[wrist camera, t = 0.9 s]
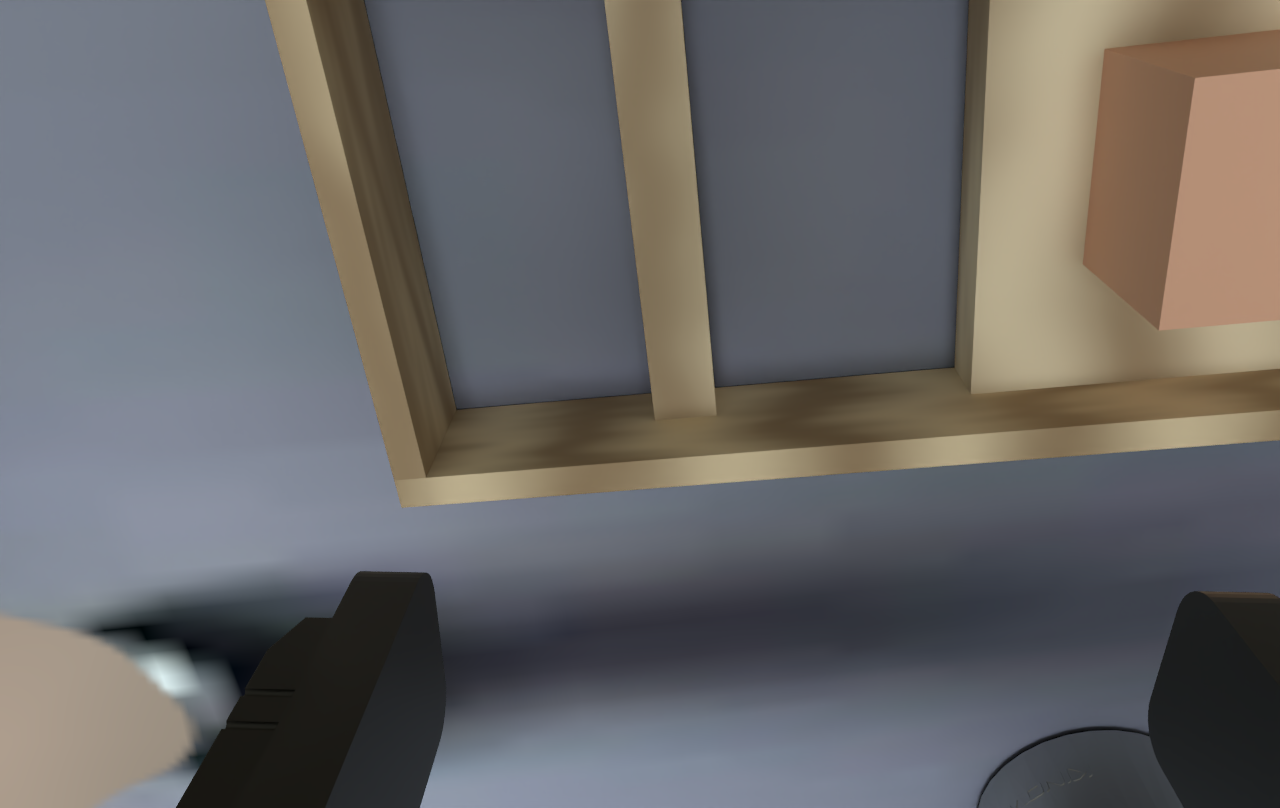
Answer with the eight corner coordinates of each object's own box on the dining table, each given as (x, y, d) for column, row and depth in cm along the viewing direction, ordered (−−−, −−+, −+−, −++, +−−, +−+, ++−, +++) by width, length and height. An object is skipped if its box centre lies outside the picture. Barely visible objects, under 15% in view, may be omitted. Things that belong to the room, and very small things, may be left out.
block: (1343, 22, 25) (1487, 46, 20) (1297, 244, 28) (1416, 308, 23) (1104, 48, 25) (1194, 78, 21) (1082, 264, 28) (1159, 330, 24)
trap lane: (1899, -268, 23) (2151, -305, 19) (1657, 335, 30) (1805, 399, 26) (313, -63, 27) (249, -58, 23) (434, 437, 34) (401, 507, 30)
